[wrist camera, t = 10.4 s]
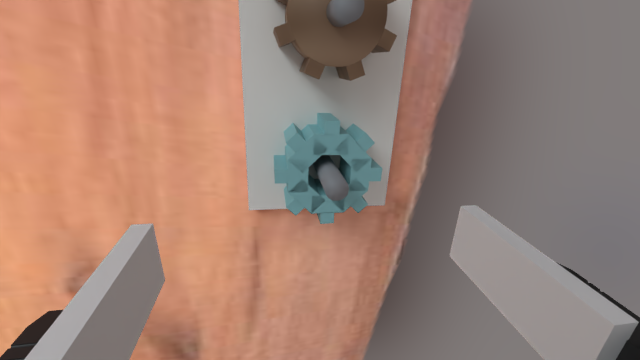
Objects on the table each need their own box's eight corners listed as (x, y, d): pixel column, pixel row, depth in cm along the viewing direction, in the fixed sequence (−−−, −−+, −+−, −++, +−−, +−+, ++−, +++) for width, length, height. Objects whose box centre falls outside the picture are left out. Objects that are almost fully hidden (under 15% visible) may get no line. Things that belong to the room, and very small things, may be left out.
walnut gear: (271, -53, 22) (272, -76, 18) (387, -41, 23) (409, -59, 20) (273, 75, 25) (274, 78, 21) (374, 79, 26) (391, 82, 23)
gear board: (237, -59, 23) (221, -121, 15) (410, -40, 25) (475, -85, 17) (249, 203, 31) (243, 252, 23) (379, 199, 33) (414, 242, 25)
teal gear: (274, 205, 30) (275, 225, 26) (272, 111, 26) (273, 120, 23) (363, 202, 31) (375, 221, 27) (372, 113, 28) (388, 121, 24)
